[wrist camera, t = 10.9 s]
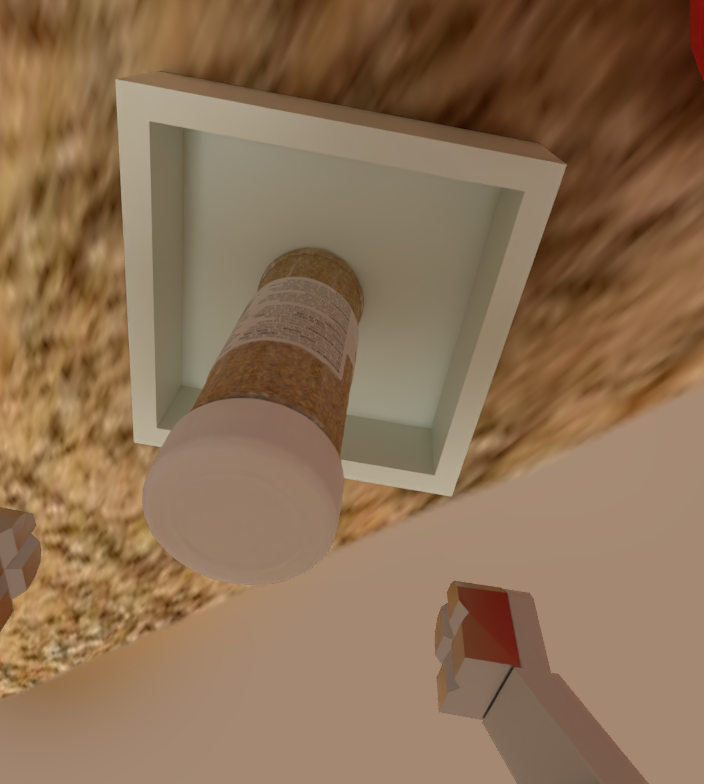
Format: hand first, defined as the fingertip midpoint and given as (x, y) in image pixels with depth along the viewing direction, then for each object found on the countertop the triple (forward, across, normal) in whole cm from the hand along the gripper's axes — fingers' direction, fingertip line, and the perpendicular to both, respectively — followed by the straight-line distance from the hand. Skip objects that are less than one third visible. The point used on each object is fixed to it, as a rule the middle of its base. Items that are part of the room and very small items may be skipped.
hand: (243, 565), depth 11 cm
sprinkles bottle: (+15, 0, +1) cm, 15 cm away
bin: (+16, 0, +1) cm, 16 cm away
